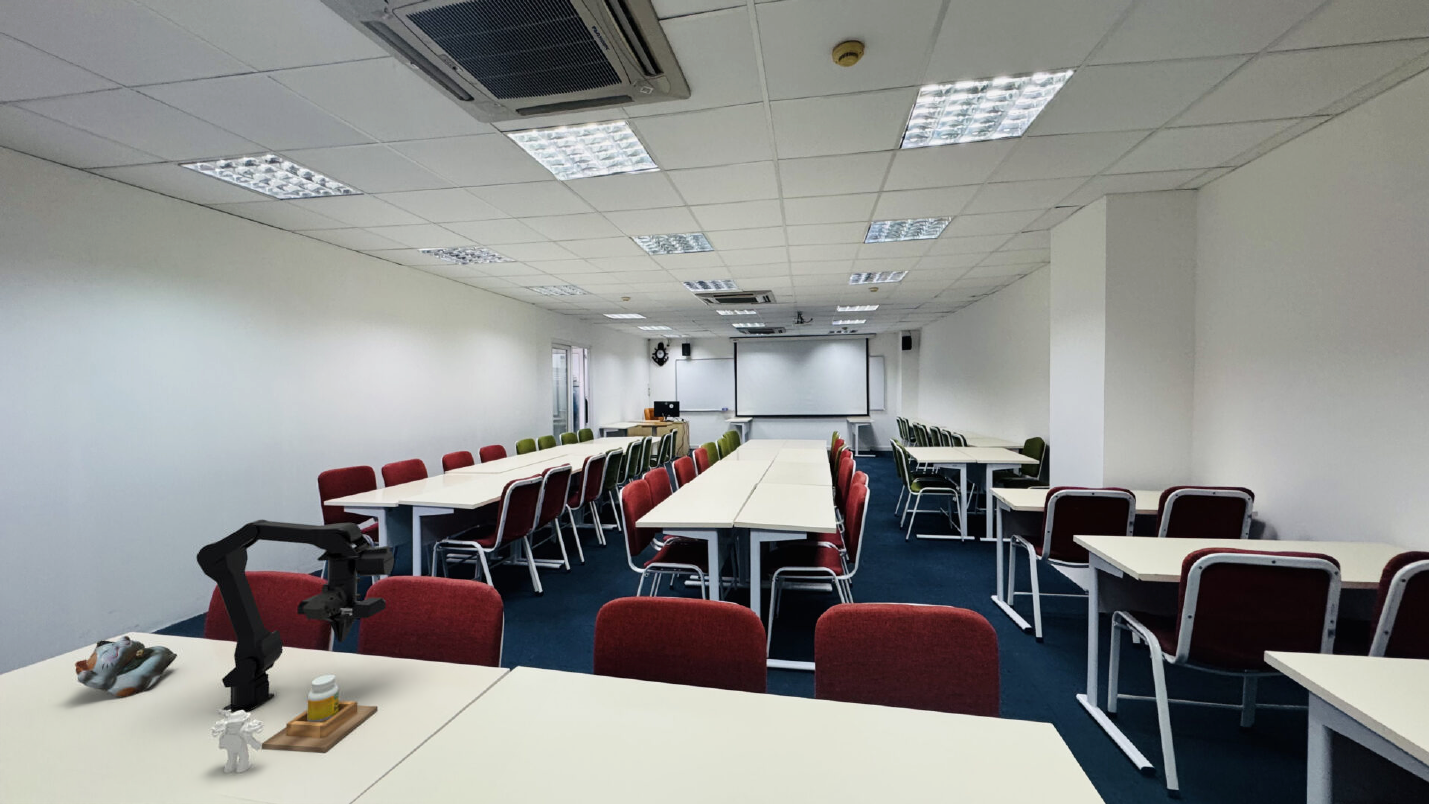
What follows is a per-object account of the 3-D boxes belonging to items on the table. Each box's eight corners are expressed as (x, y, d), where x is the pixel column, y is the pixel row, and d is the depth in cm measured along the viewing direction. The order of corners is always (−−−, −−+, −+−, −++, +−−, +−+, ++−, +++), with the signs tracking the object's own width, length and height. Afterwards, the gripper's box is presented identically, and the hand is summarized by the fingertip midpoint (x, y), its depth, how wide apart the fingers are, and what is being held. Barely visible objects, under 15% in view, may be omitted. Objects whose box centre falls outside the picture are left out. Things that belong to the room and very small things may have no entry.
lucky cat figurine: (141, 697, 120) (97, 656, 115) (90, 719, 119) (43, 679, 114) (190, 650, 134) (152, 612, 129) (144, 670, 133) (105, 632, 128)
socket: (261, 748, 102) (261, 731, 102) (320, 707, 116) (320, 692, 116) (325, 752, 101) (325, 735, 101) (377, 710, 115) (377, 695, 115)
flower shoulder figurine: (204, 775, 95) (205, 711, 95) (225, 761, 99) (226, 699, 99) (251, 776, 94) (252, 712, 95) (270, 761, 98) (271, 700, 99)
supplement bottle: (307, 722, 109) (307, 678, 109) (337, 712, 112) (338, 670, 113) (306, 735, 105) (307, 689, 105) (338, 724, 108) (339, 680, 108)
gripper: (275, 586, 115) (274, 655, 114) (350, 590, 113) (348, 660, 112) (319, 571, 126) (318, 633, 125) (387, 574, 124) (386, 637, 123)
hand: (341, 641), depth 121 cm, fingers closed
